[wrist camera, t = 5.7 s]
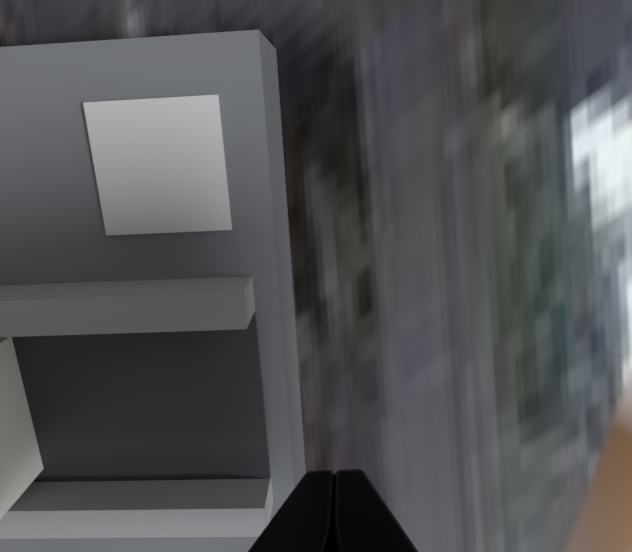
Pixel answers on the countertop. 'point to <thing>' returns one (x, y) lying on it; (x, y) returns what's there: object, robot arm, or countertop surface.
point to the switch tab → (15, 432)
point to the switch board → (149, 292)
